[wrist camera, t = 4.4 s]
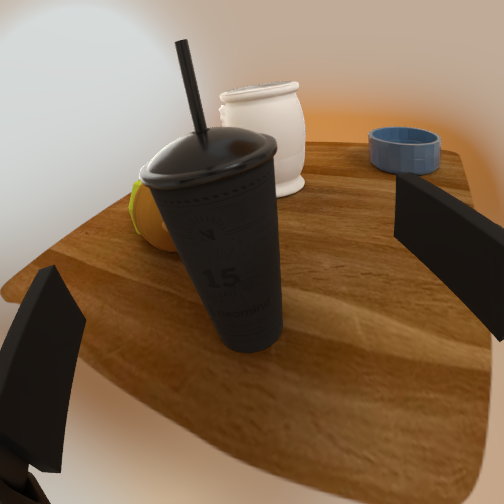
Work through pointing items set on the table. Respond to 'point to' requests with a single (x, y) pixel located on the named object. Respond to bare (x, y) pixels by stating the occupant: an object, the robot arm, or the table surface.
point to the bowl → (405, 150)
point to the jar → (273, 126)
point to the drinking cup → (223, 220)
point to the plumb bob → (149, 218)
